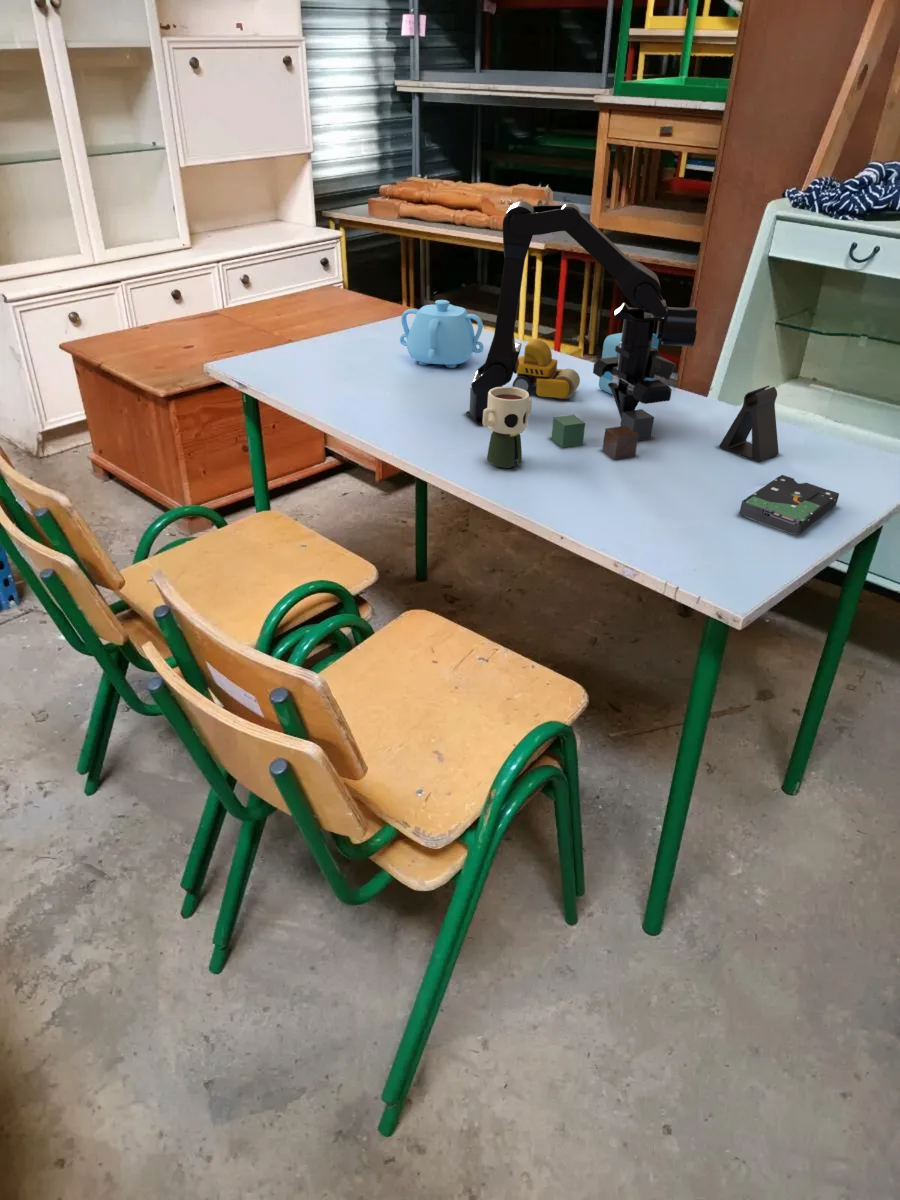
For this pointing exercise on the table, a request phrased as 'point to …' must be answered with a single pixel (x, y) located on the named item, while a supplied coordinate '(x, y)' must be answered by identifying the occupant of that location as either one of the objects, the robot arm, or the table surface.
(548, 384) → the toy roller
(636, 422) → the charcoal block
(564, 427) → the green block
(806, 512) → the disk drive
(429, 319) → the decorative pot
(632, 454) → the walnut block
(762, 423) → the black triangular stand
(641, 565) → the table surface
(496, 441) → the character mug
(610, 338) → the data package
